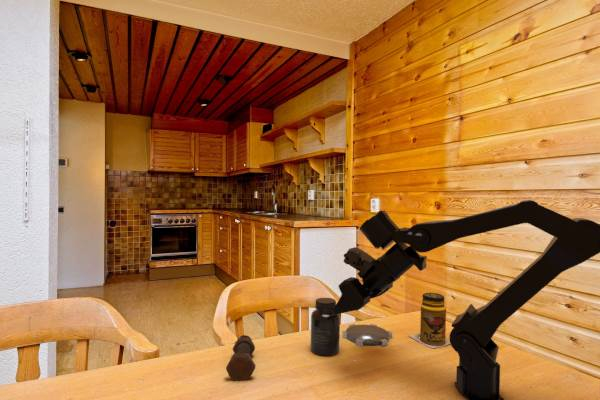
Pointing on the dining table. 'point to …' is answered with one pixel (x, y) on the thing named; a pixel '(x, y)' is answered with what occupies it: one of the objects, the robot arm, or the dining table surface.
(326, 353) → the supplement bottle
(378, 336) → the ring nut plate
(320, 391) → the dining table surface
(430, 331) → the condiment
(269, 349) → the dining table surface
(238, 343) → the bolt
